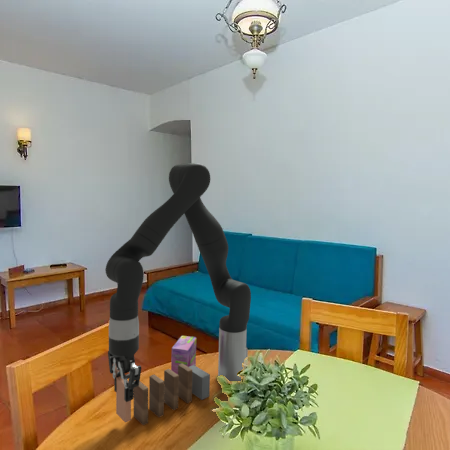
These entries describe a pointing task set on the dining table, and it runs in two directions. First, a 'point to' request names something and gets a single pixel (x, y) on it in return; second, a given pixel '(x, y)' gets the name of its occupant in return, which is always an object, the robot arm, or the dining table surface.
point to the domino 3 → (171, 388)
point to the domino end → (122, 401)
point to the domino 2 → (156, 395)
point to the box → (183, 352)
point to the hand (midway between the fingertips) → (123, 395)
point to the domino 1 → (141, 403)
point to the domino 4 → (185, 383)
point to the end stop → (200, 382)
